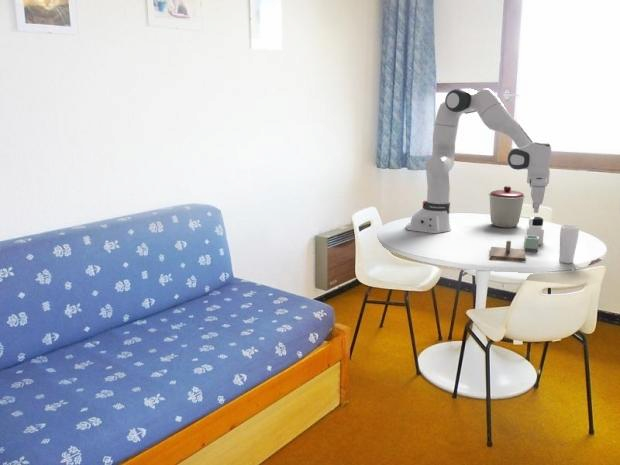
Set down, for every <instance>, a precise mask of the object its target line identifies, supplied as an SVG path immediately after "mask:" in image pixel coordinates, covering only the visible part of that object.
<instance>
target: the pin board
mask: <svg viewBox="0 0 620 465" xmlns="http://www.w3.org/2000/svg"><path fill="white" fill-rule="evenodd" d="M511 245H512V241H511V240H506V244H505V247H500V246H499V247H498V246H490V256H489V259H490V260H498V259H500V260H501V261H509V260H511V261H512V260H513V261H512V262H521V261H525V262H526V259H527V257H526V251H525V250H524V248H511ZM500 260H499V261H500ZM511 261H510V262H511Z"/></svg>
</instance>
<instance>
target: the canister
mask: <svg viewBox="0 0 620 465" xmlns="http://www.w3.org/2000/svg"><path fill="white" fill-rule="evenodd" d="M488 196H489V211H490V212H489V213H490V222H491V224H492V225H493V226H494V227H498V228H503V229H504V228H506V229H510V228H514V227H516V226H518V225H519V222H520V219H521V214H522V210H523V204H524V201H525V200H524V199H525V198H526V195H525V194H524V193H523V192H521V191H517V190H512V188H511V186H510V185H505V186H504V187H503V189H497V190H493V191H491V192H488Z"/></svg>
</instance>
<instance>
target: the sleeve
mask: <svg viewBox="0 0 620 465" xmlns="http://www.w3.org/2000/svg"><path fill="white" fill-rule="evenodd" d="M523 249H524V250H525V252H529V253H538V252H539V237H538V236H530V235H526V234H525V236H524V246H523Z"/></svg>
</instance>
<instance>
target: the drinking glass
mask: <svg viewBox="0 0 620 465" xmlns="http://www.w3.org/2000/svg"><path fill="white" fill-rule="evenodd" d="M579 232H580V228H579V227H578V226H577V225H570V224H564V225H561V226H560V232H559V233H560V234H559V256H558V257H559V258H558V260H559V262H560V263H561V264H572V263H574V257H575V253H576V249H577V245H578V244H577V243H578V238H579Z"/></svg>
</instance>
